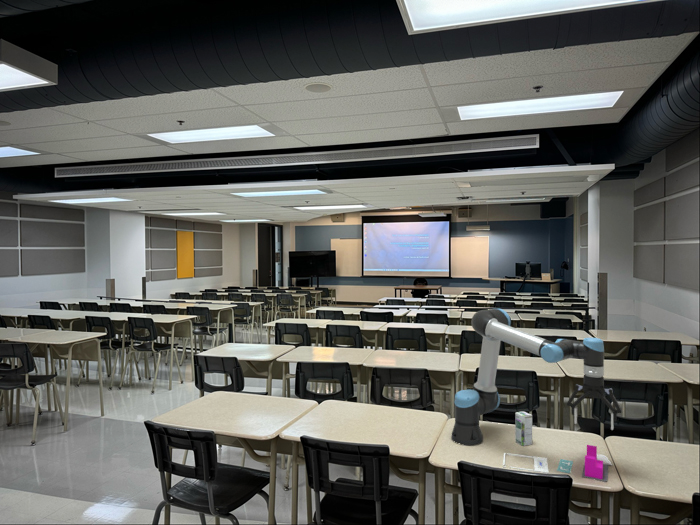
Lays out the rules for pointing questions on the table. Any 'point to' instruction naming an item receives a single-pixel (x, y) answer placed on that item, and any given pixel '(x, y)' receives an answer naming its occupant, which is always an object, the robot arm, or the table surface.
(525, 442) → the syrup box
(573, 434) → the table surface
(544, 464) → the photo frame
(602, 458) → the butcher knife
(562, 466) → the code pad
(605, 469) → the mat
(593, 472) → the toy block
